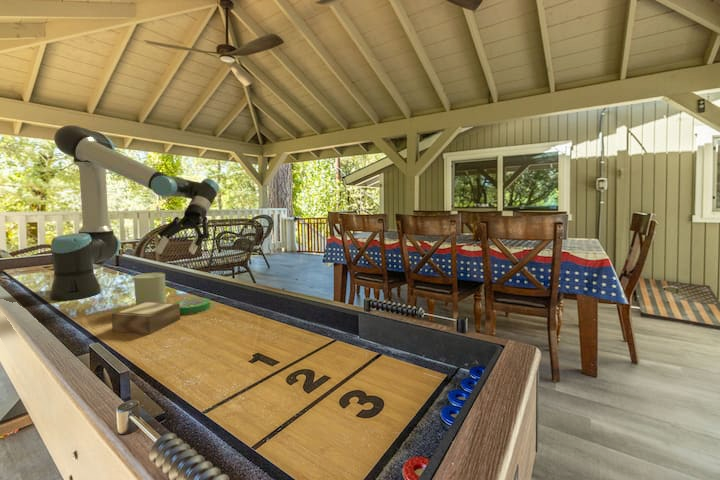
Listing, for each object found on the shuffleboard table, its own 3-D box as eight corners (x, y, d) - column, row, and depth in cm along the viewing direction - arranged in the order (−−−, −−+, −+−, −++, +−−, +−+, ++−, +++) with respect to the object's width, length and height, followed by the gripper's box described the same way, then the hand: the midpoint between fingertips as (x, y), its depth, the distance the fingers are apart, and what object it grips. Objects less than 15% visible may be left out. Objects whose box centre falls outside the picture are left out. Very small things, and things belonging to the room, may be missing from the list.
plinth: (112, 331, 95) (111, 313, 94) (146, 316, 107) (145, 300, 106) (150, 334, 93) (148, 315, 92) (180, 319, 105) (179, 303, 104)
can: (152, 313, 110) (150, 277, 109) (128, 311, 112) (126, 276, 111) (173, 305, 119) (171, 271, 118) (151, 303, 121) (148, 270, 120)
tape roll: (192, 316, 108) (191, 308, 108) (166, 312, 112) (165, 305, 112) (217, 306, 118) (217, 299, 118) (193, 303, 122) (193, 296, 122)
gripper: (229, 215, 138) (210, 258, 125) (175, 216, 143) (150, 257, 130) (221, 202, 133) (200, 246, 120) (164, 203, 137) (138, 245, 124)
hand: (174, 252), depth 125 cm, fingers open, 13 cm apart
